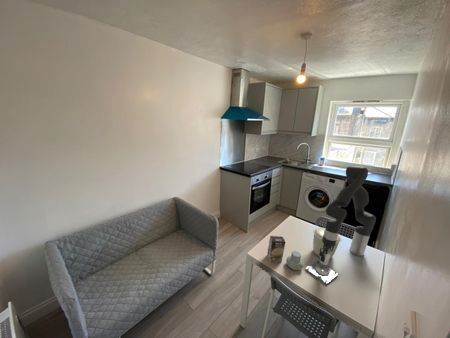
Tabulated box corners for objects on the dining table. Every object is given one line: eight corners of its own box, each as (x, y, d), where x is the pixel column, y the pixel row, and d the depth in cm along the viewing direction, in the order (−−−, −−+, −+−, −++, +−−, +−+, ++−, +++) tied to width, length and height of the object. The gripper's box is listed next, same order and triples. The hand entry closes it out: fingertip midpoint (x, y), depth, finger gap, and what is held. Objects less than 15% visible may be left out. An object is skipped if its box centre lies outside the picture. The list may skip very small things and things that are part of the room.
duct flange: (317, 262, 134) (317, 259, 133) (337, 275, 123) (338, 272, 122) (305, 269, 126) (306, 267, 125) (326, 285, 115) (327, 282, 114)
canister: (329, 247, 151) (335, 223, 145) (340, 264, 133) (347, 238, 128) (306, 244, 152) (311, 221, 147) (314, 260, 135) (320, 234, 129)
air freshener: (298, 261, 133) (300, 249, 131) (304, 270, 125) (307, 257, 123) (283, 262, 131) (285, 249, 129) (289, 271, 124) (291, 258, 121)
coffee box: (269, 261, 131) (272, 241, 127) (266, 255, 137) (269, 235, 133) (282, 262, 132) (285, 241, 127) (279, 255, 138) (282, 236, 134)
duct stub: (321, 257, 126) (324, 246, 124) (330, 263, 122) (333, 251, 119) (317, 260, 123) (320, 249, 121) (325, 266, 118) (328, 254, 116)
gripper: (330, 230, 124) (324, 252, 129) (317, 236, 116) (312, 260, 121) (342, 236, 118) (335, 259, 123) (330, 243, 110) (324, 267, 115)
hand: (324, 259), depth 122 cm, fingers closed on duct stub, 5 cm apart
